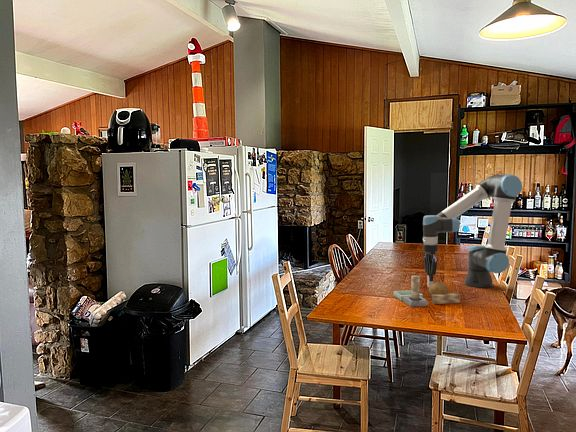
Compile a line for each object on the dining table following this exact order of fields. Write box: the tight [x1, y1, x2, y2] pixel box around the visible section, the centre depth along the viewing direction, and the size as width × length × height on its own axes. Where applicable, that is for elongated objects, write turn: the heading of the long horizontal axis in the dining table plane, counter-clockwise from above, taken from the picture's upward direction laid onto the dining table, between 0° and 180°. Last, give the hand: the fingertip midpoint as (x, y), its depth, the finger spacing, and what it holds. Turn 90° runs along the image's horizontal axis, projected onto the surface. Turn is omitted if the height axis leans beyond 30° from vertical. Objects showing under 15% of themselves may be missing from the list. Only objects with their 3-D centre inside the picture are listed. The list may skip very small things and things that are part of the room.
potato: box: [428, 281, 449, 297], centre depth 238 cm, size 10×14×8 cm
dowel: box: [410, 274, 421, 301], centre depth 229 cm, size 4×4×14 cm
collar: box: [402, 296, 429, 307], centre depth 229 cm, size 9×9×2 cm
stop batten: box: [431, 292, 461, 305], centre depth 231 cm, size 14×3×4 cm, turn 99°
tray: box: [393, 289, 424, 302], centre depth 240 cm, size 12×10×2 cm
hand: (430, 286), depth 248 cm, fingers closed
